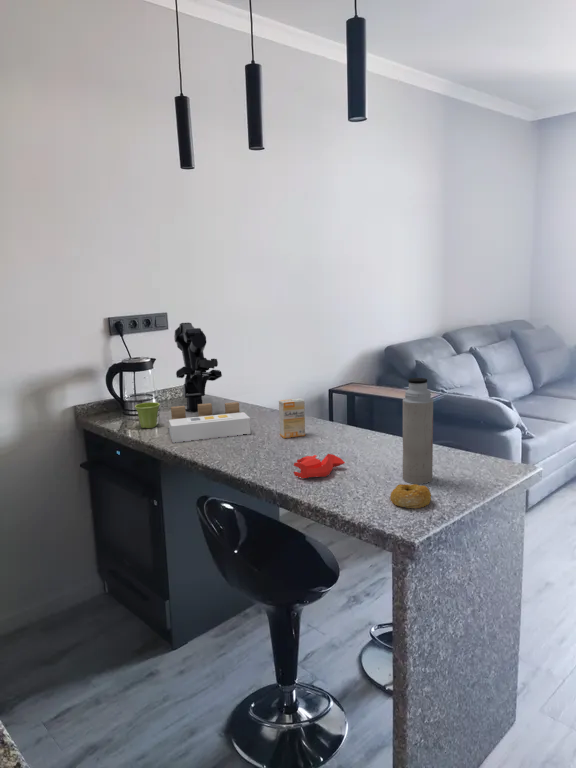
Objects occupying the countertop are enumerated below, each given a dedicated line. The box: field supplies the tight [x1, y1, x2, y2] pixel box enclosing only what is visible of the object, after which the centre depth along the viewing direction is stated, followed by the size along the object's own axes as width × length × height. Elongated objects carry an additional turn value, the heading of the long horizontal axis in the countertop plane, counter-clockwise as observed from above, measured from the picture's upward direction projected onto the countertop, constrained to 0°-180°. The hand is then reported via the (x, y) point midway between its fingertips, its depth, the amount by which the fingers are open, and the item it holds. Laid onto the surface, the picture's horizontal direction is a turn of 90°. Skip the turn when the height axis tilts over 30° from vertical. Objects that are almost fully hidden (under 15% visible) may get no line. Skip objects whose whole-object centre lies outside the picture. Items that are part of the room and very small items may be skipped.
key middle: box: [197, 402, 213, 417], centre depth 218 cm, size 2×5×8 cm, turn 107°
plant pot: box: [134, 401, 161, 429], centre depth 224 cm, size 9×9×9 cm
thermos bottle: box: [402, 377, 434, 485], centre depth 155 cm, size 8×8×28 cm
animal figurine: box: [293, 453, 346, 479], centre depth 166 cm, size 12×15×5 cm
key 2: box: [224, 401, 240, 414], centre depth 219 cm, size 2×5×8 cm, turn 107°
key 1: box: [170, 405, 187, 420], centre depth 216 cm, size 2×5×8 cm, turn 107°
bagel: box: [389, 483, 432, 509], centre depth 142 cm, size 10×11×5 cm
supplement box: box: [278, 397, 306, 439], centre depth 203 cm, size 8×5×13 cm, turn 109°
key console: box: [167, 411, 252, 444], centre depth 213 cm, size 18×28×6 cm, turn 107°
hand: (202, 394), depth 229 cm, fingers closed
